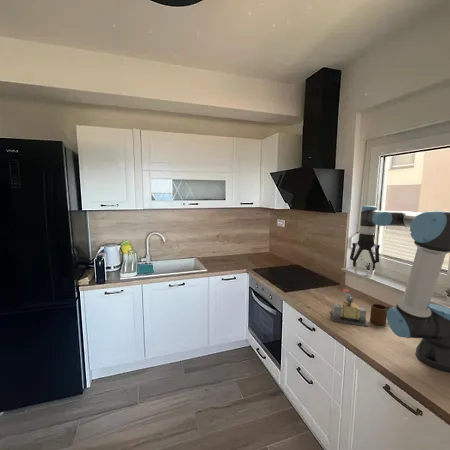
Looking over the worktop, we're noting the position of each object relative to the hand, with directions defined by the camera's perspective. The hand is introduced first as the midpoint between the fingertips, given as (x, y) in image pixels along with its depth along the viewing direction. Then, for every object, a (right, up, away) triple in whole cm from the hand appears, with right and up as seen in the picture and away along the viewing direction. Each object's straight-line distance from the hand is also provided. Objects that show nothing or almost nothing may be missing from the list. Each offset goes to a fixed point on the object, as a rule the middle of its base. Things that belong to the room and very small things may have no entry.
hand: (362, 272), depth 146 cm
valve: (-10, -25, -3) cm, 27 cm away
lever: (-8, -14, +2) cm, 16 cm away
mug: (+7, -26, -5) cm, 28 cm away
